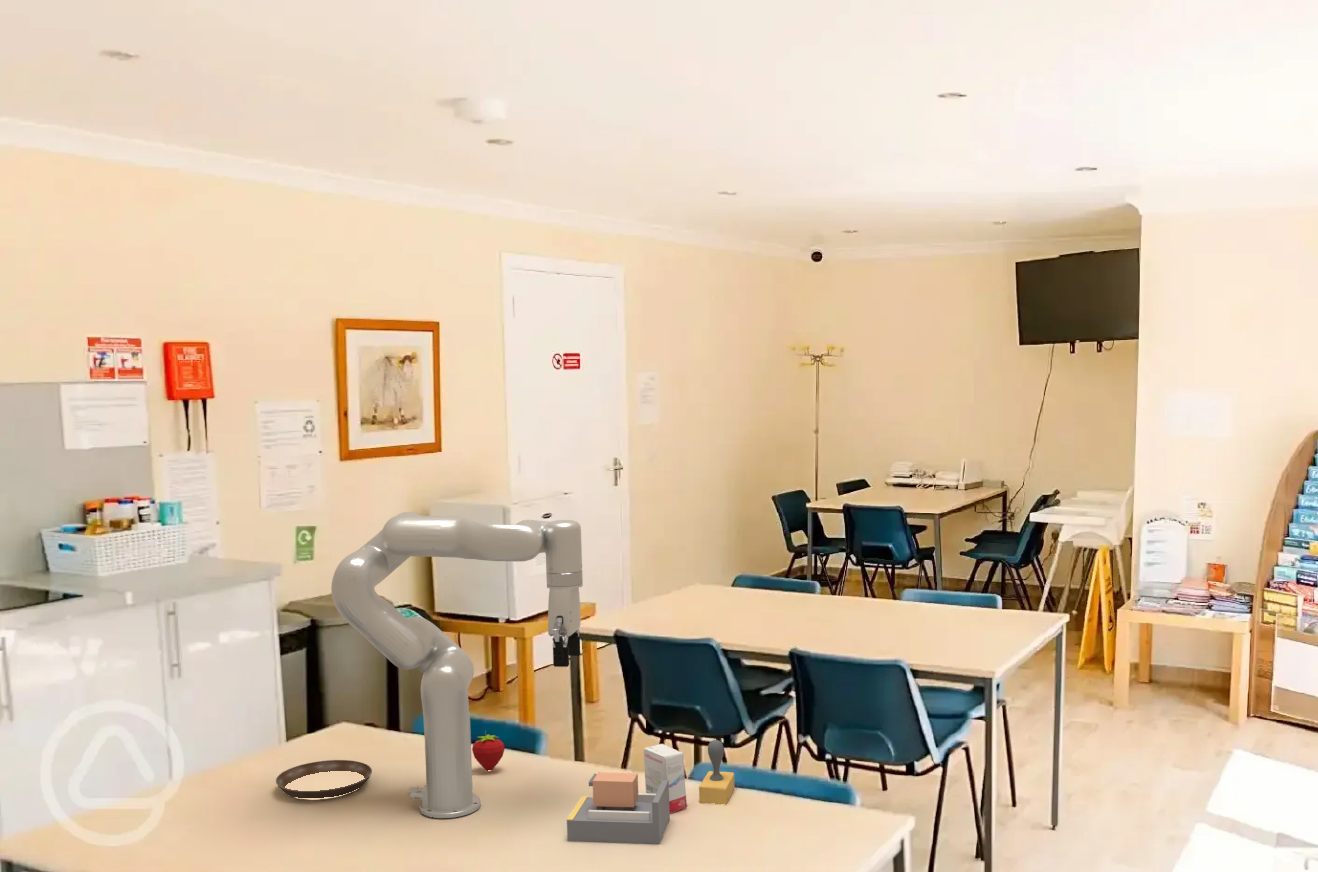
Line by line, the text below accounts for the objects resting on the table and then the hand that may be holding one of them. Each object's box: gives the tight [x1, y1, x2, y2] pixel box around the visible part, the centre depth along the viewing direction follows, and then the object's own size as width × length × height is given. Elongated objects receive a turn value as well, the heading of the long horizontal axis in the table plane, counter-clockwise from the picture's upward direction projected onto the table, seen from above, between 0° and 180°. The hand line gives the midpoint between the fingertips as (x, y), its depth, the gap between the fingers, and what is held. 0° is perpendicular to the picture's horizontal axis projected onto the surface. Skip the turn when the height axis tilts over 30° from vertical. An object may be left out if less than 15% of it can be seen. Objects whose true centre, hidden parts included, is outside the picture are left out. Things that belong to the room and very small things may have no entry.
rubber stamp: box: [698, 739, 735, 805], centre depth 240 cm, size 10×6×12 cm, turn 166°
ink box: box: [643, 743, 688, 814], centre depth 235 cm, size 9×5×12 cm, turn 33°
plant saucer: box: [275, 759, 373, 798], centre depth 253 cm, size 21×21×3 cm
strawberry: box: [471, 729, 505, 772], centre depth 260 cm, size 6×8×10 cm
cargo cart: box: [588, 771, 639, 811], centre depth 223 cm, size 9×5×6 cm, turn 80°
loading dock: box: [566, 780, 671, 845], centre depth 223 cm, size 18×13×8 cm
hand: (567, 660), depth 237 cm, fingers open, 9 cm apart
